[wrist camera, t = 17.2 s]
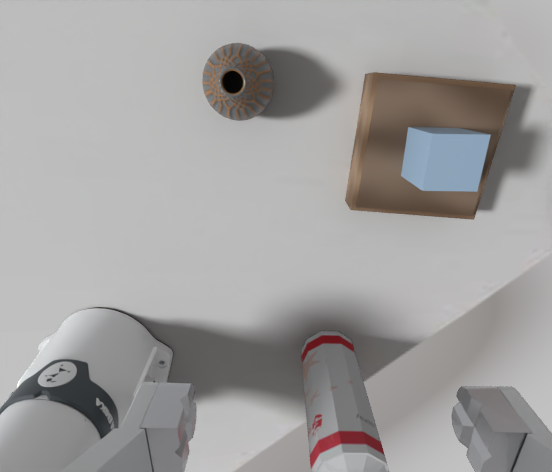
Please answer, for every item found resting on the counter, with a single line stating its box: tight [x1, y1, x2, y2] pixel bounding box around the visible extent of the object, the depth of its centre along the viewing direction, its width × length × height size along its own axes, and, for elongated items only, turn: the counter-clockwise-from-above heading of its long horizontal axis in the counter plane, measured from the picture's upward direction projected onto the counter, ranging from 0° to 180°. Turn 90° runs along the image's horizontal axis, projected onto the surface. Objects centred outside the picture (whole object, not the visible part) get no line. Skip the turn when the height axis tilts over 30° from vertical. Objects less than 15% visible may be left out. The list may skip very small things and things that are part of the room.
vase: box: [203, 43, 274, 121], centre depth 34 cm, size 7×7×9 cm
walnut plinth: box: [345, 73, 516, 219], centre depth 38 cm, size 14×14×4 cm
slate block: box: [401, 127, 491, 192], centre depth 34 cm, size 5×5×6 cm
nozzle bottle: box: [301, 331, 389, 472], centre depth 40 cm, size 8×8×25 cm
